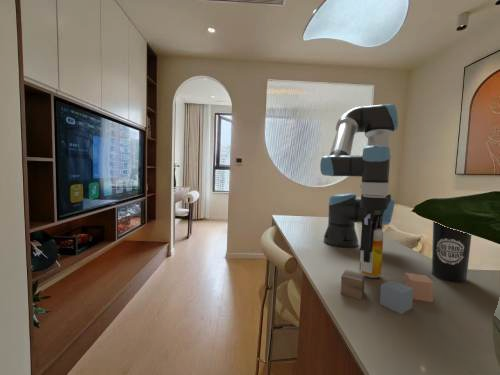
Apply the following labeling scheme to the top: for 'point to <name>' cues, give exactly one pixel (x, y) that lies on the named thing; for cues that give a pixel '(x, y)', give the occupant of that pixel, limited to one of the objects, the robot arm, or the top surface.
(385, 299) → the slate blue cube
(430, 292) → the terracotta cube
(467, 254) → the water bottle
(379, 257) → the beer can
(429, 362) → the top surface
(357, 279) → the walnut cube
